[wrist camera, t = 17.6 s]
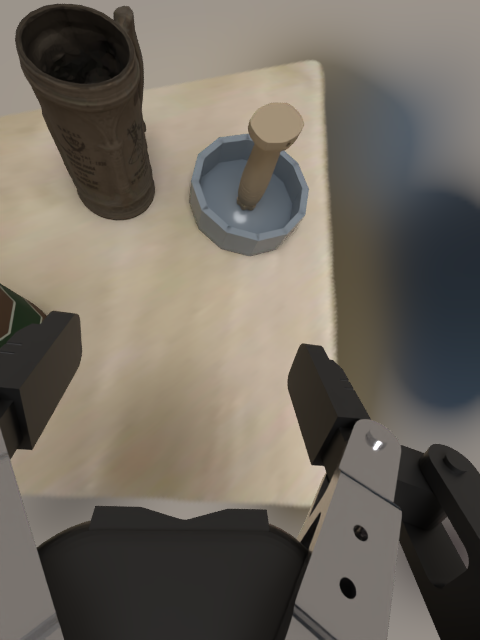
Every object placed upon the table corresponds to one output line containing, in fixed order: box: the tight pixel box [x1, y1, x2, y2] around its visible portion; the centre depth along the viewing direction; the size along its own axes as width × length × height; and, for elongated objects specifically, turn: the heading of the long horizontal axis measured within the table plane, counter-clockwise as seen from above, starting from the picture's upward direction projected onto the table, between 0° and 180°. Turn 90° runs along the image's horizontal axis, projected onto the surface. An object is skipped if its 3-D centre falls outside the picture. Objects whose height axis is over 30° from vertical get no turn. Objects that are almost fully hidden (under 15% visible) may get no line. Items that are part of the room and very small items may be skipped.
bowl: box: [189, 134, 309, 256], centre depth 46 cm, size 17×17×5 cm
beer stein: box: [15, 4, 155, 219], centre depth 36 cm, size 15×11×20 cm
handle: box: [237, 103, 304, 211], centre depth 40 cm, size 5×6×15 cm
